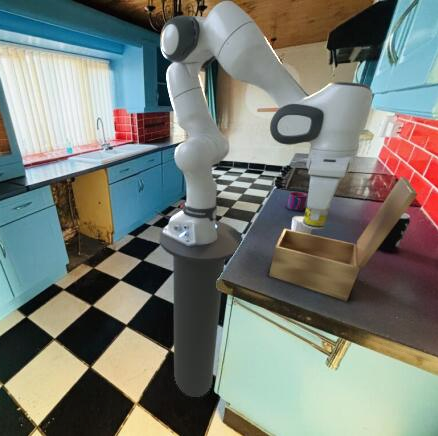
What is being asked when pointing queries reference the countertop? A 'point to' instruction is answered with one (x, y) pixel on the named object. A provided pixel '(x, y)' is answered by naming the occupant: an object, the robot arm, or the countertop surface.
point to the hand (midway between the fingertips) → (315, 214)
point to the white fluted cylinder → (299, 225)
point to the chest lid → (385, 219)
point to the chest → (316, 263)
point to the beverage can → (395, 234)
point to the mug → (296, 201)
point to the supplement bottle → (315, 223)
